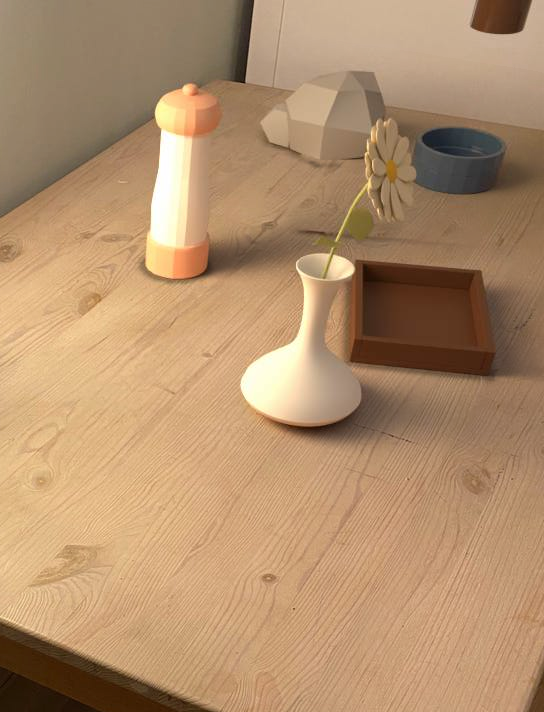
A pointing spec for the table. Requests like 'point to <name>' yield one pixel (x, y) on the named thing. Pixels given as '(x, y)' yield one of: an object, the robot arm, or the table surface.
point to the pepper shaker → (182, 184)
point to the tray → (420, 317)
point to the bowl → (457, 159)
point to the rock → (328, 116)
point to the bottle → (500, 16)
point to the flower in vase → (330, 303)
